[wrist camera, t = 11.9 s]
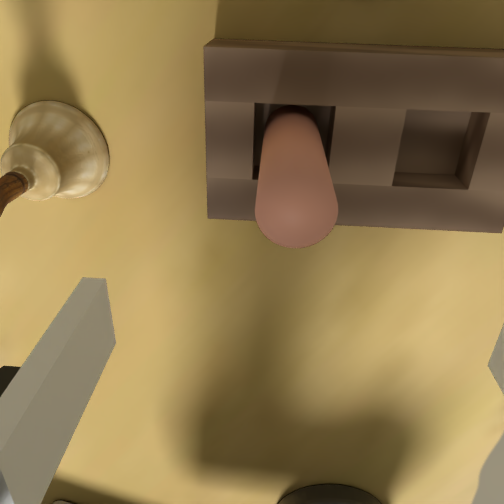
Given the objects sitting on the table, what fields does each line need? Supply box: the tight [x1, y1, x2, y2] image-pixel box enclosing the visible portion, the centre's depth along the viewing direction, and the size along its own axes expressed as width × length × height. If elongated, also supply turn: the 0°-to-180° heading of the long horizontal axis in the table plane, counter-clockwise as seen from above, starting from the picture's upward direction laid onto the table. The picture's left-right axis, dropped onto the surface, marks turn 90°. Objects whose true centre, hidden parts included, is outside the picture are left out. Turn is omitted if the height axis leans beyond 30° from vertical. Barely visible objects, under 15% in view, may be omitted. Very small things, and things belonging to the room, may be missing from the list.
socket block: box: [204, 39, 504, 233], centre depth 33 cm, size 12×22×5 cm, turn 89°
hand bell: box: [0, 101, 109, 217], centre depth 31 cm, size 8×8×16 cm
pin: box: [255, 105, 338, 248], centre depth 28 cm, size 4×4×14 cm
